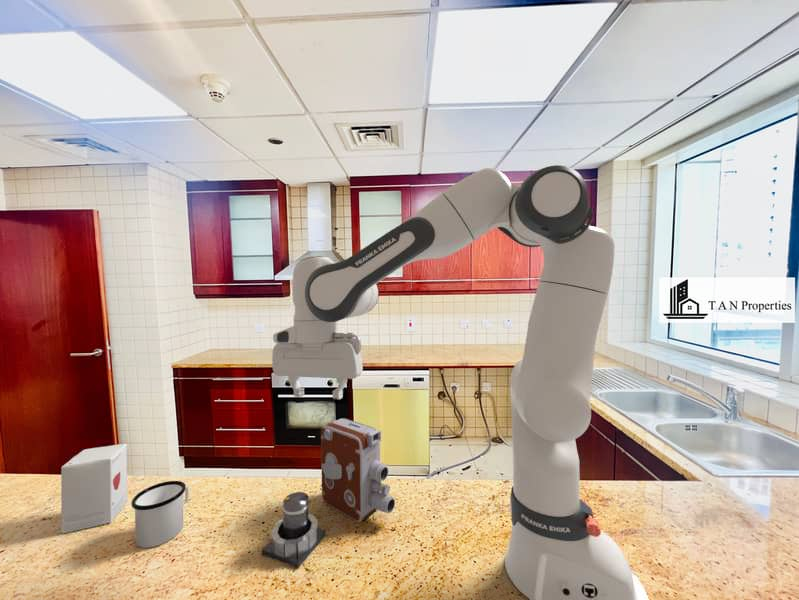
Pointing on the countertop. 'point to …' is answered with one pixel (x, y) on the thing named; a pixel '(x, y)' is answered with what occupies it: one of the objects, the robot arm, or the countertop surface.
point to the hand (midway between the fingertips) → (318, 397)
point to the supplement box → (93, 487)
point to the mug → (159, 513)
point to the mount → (293, 543)
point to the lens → (295, 515)
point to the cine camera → (353, 469)
